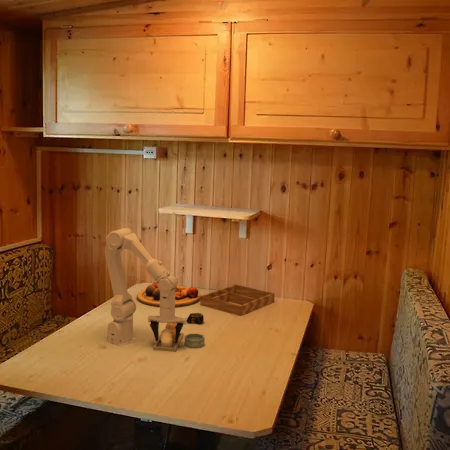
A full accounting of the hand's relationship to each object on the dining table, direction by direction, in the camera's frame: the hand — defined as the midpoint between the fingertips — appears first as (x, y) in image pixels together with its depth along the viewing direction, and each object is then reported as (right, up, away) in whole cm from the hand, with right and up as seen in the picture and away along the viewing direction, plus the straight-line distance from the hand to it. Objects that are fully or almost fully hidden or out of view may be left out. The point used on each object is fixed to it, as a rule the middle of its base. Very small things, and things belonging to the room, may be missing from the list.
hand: (166, 341), depth 198 cm
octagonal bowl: (+10, -3, +3) cm, 11 cm away
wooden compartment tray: (+28, +5, +59) cm, 65 cm away
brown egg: (+1, -1, +8) cm, 8 cm away
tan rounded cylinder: (0, -2, 0) cm, 2 cm away
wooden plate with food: (-6, +7, +64) cm, 65 cm away
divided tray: (0, -2, +4) cm, 5 cm away
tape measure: (+9, +1, +29) cm, 30 cm away
